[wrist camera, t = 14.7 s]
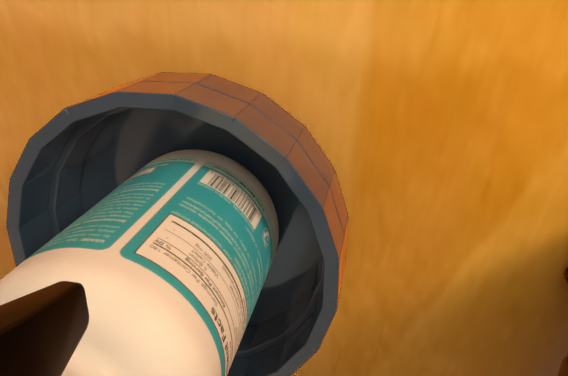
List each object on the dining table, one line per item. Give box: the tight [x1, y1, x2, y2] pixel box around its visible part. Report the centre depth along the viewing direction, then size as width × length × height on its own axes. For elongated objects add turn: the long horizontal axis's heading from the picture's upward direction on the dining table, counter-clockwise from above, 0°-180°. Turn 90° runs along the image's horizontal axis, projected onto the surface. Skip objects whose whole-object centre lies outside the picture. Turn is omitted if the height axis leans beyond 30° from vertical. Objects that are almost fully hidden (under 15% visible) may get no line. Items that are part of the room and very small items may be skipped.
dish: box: [6, 72, 348, 376], centre depth 22 cm, size 14×14×4 cm
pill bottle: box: [0, 150, 279, 376], centre depth 17 cm, size 8×7×14 cm
